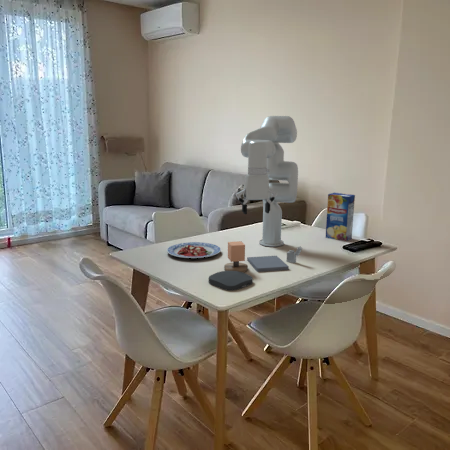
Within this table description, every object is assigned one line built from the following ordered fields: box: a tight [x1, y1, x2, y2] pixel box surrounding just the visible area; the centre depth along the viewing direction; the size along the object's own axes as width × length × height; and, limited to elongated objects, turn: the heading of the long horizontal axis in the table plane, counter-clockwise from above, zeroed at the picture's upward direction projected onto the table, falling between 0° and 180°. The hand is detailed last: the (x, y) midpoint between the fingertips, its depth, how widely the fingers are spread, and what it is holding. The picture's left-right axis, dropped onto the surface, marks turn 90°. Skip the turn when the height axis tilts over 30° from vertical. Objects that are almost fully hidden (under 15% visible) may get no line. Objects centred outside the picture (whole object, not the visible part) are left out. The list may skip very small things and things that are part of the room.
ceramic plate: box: [166, 241, 222, 260], centre depth 217 cm, size 26×26×3 cm
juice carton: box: [325, 192, 356, 242], centre depth 244 cm, size 12×8×24 cm, turn 50°
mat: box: [246, 255, 290, 273], centre depth 200 cm, size 16×14×2 cm
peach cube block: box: [227, 241, 246, 263], centre depth 193 cm, size 6×6×7 cm
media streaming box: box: [208, 270, 254, 291], centre depth 179 cm, size 15×15×3 cm
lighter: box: [286, 246, 303, 264], centre depth 204 cm, size 7×2×8 cm, turn 48°
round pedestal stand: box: [223, 261, 249, 273], centre depth 193 cm, size 10×10×10 cm
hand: (256, 213), depth 188 cm, fingers open, 9 cm apart
